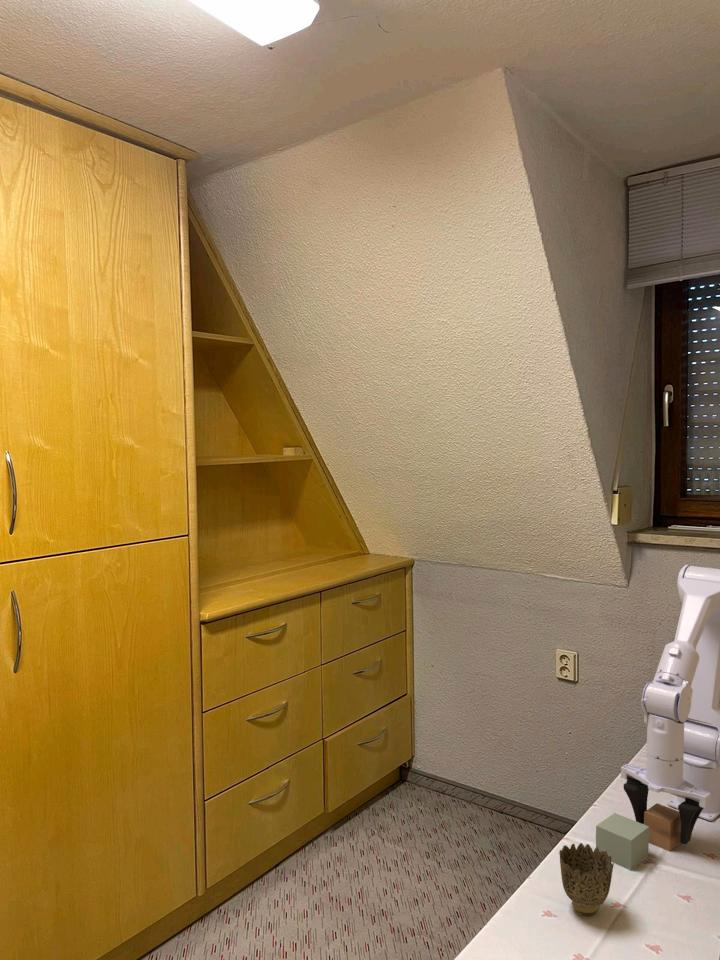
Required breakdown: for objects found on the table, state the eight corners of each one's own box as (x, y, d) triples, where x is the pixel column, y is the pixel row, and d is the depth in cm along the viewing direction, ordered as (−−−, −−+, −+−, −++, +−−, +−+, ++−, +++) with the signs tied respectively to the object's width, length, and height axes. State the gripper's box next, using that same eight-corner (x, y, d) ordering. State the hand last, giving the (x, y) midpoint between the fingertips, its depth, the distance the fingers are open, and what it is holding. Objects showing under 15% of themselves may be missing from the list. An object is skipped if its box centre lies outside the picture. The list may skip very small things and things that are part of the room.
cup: (615, 930, 102) (616, 874, 102) (560, 923, 104) (561, 868, 103) (608, 897, 110) (609, 845, 109) (557, 891, 111) (558, 839, 111)
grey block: (614, 841, 125) (614, 812, 125) (648, 856, 120) (649, 826, 120) (595, 855, 121) (596, 825, 121) (630, 871, 116) (631, 840, 116)
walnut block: (656, 831, 128) (656, 803, 128) (682, 841, 125) (682, 813, 124) (643, 840, 125) (644, 812, 125) (669, 852, 122) (670, 822, 121)
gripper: (612, 747, 127) (611, 824, 127) (698, 776, 116) (695, 860, 117) (633, 735, 131) (631, 810, 132) (717, 762, 121) (714, 843, 121)
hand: (662, 832), depth 125 cm, fingers open, 7 cm apart
